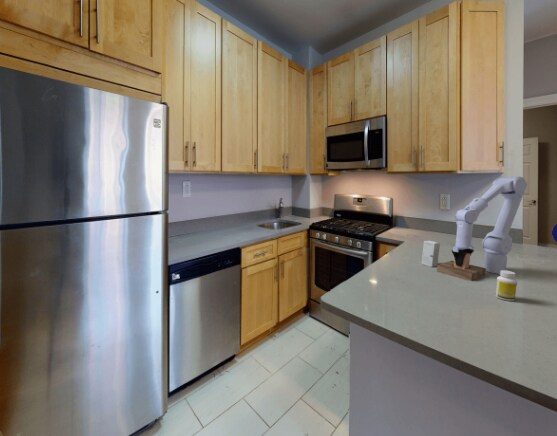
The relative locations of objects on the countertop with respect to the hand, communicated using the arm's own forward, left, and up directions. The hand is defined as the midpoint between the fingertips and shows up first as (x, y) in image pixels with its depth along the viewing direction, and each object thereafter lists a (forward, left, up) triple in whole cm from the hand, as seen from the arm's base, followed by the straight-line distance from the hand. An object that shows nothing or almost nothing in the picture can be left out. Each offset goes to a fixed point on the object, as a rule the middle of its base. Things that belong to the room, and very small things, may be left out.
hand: (461, 264), depth 118 cm
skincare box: (0, -14, -4) cm, 15 cm away
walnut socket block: (0, 0, -4) cm, 4 cm away
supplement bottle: (+16, +21, -4) cm, 27 cm away
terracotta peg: (0, 0, -2) cm, 2 cm away
